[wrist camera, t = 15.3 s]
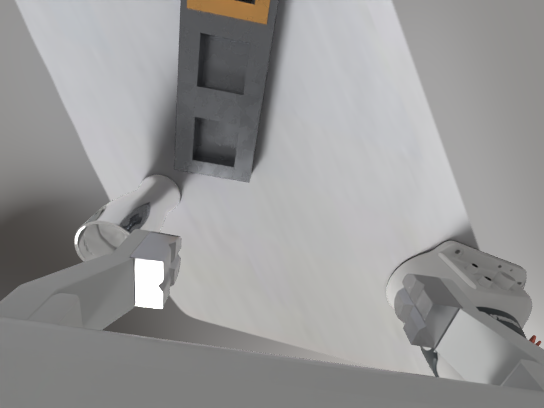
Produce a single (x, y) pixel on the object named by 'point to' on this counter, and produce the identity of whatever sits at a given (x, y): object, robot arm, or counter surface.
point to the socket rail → (221, 84)
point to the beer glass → (127, 217)
